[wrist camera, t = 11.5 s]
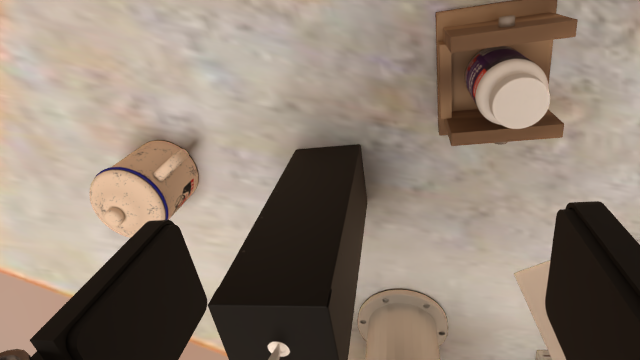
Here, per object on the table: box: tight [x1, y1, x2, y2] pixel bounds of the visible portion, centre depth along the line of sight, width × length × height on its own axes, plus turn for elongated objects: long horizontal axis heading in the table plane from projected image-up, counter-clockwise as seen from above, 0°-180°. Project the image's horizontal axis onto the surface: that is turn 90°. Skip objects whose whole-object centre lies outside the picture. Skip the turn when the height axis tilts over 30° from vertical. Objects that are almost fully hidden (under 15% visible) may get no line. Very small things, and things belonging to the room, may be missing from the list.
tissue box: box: [208, 145, 367, 360], centre depth 35 cm, size 8×8×28 cm
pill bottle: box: [465, 46, 550, 129], centre depth 33 cm, size 5×5×10 cm
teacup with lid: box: [90, 141, 198, 238], centre depth 45 cm, size 12×9×12 cm
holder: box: [436, 0, 577, 146], centre depth 35 cm, size 12×10×7 cm
